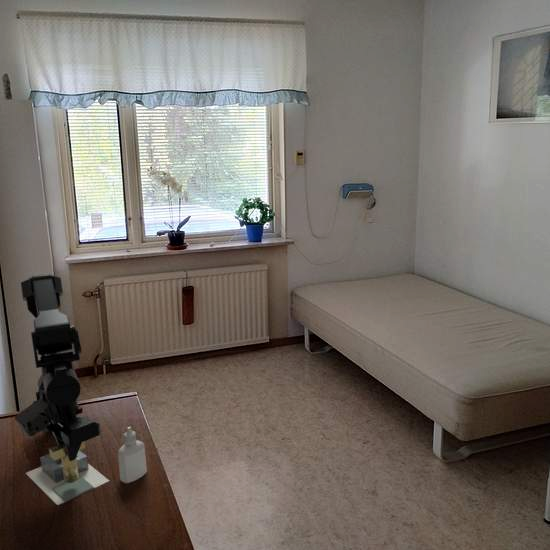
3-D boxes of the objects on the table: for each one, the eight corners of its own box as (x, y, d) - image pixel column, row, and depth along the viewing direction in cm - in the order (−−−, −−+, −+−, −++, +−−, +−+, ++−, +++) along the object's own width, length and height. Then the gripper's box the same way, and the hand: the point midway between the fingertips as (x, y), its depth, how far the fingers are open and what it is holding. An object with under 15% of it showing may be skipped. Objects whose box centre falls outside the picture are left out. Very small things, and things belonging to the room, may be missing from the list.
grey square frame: (41, 469, 120) (39, 457, 120) (73, 456, 125) (72, 444, 124) (55, 483, 115) (54, 470, 115) (88, 468, 120) (87, 456, 119)
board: (26, 477, 120) (25, 473, 119) (75, 456, 127) (74, 452, 127) (58, 509, 108) (57, 505, 108) (110, 485, 116) (109, 480, 116)
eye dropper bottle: (149, 481, 116) (144, 429, 114) (121, 488, 114) (116, 435, 112) (145, 471, 120) (141, 420, 118) (119, 477, 118) (113, 425, 116)
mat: (52, 489, 113) (51, 487, 113) (80, 476, 117) (80, 475, 117) (65, 501, 109) (64, 500, 109) (93, 488, 113) (93, 486, 113)
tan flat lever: (83, 469, 116) (79, 435, 114) (89, 474, 114) (85, 440, 112) (53, 483, 112) (48, 447, 110) (59, 488, 110) (54, 453, 108)
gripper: (-2, 384, 109) (10, 456, 113) (37, 414, 96) (48, 494, 100) (54, 367, 117) (63, 435, 120) (97, 393, 104) (105, 468, 107)
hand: (68, 457), depth 112 cm, fingers closed on tan flat lever, 3 cm apart
